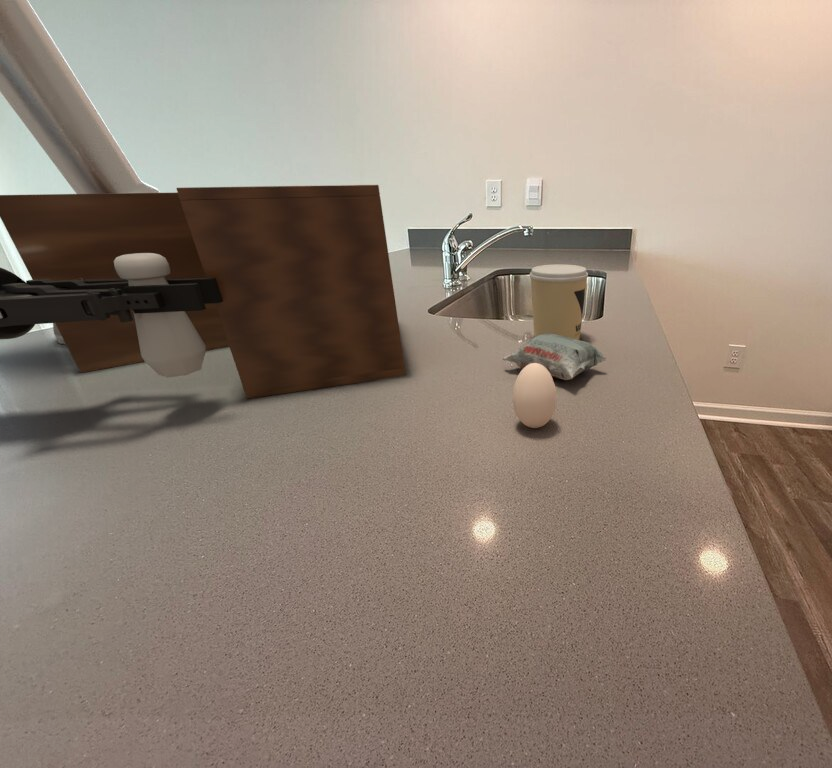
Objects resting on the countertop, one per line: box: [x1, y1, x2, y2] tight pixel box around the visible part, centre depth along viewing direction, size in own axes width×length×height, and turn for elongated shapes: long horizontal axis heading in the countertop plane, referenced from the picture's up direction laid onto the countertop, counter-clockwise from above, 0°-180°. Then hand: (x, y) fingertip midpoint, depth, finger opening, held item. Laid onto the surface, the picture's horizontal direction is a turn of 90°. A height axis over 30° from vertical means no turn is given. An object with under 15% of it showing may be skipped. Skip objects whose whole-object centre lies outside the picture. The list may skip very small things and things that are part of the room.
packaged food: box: [502, 334, 607, 381], centre depth 57 cm, size 9×12×5 cm
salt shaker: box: [114, 253, 207, 379], centre depth 45 cm, size 6×6×13 cm
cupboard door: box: [0, 191, 229, 373], centre depth 65 cm, size 7×26×24 cm, turn 125°
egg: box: [512, 363, 558, 429], centre depth 43 cm, size 5×5×7 cm
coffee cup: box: [529, 263, 589, 340], centre depth 68 cm, size 9×9×12 cm
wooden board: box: [175, 184, 407, 399], centre depth 61 cm, size 20×26×24 cm
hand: (208, 293), depth 44 cm, fingers closed on salt shaker, 3 cm apart
